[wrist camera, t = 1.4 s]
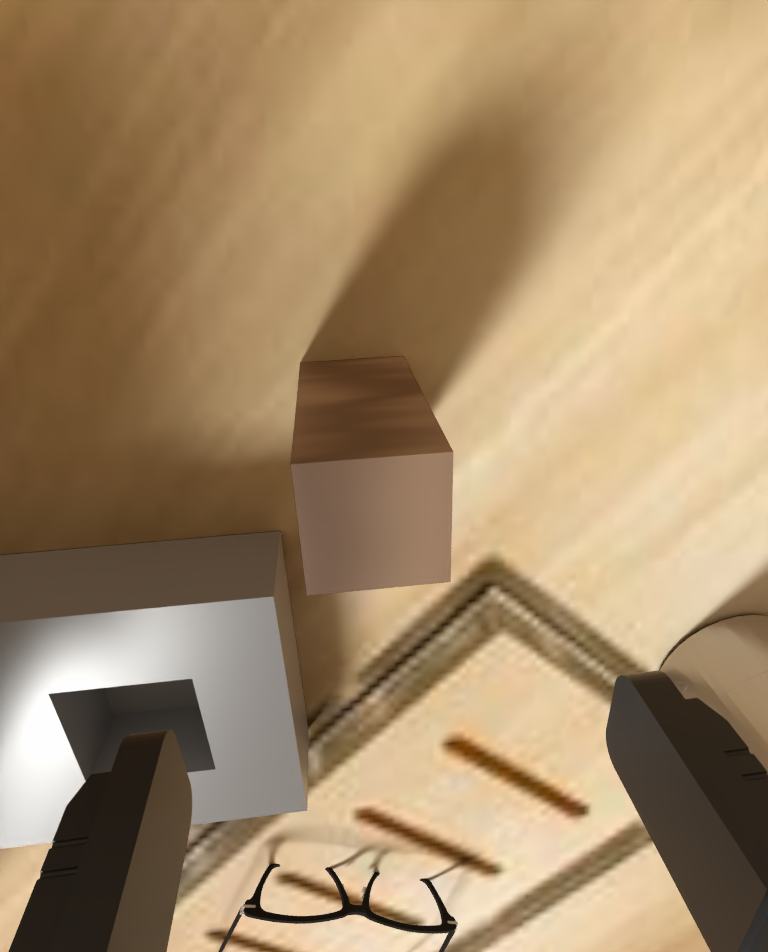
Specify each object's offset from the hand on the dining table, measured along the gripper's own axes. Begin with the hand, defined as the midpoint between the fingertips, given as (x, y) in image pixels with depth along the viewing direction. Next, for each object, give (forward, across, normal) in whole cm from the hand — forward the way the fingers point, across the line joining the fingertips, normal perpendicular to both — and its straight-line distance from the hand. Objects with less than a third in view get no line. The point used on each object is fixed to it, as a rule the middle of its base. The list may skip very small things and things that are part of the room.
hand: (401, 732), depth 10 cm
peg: (+17, 0, 0) cm, 17 cm away
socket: (+17, +13, +13) cm, 25 cm away
